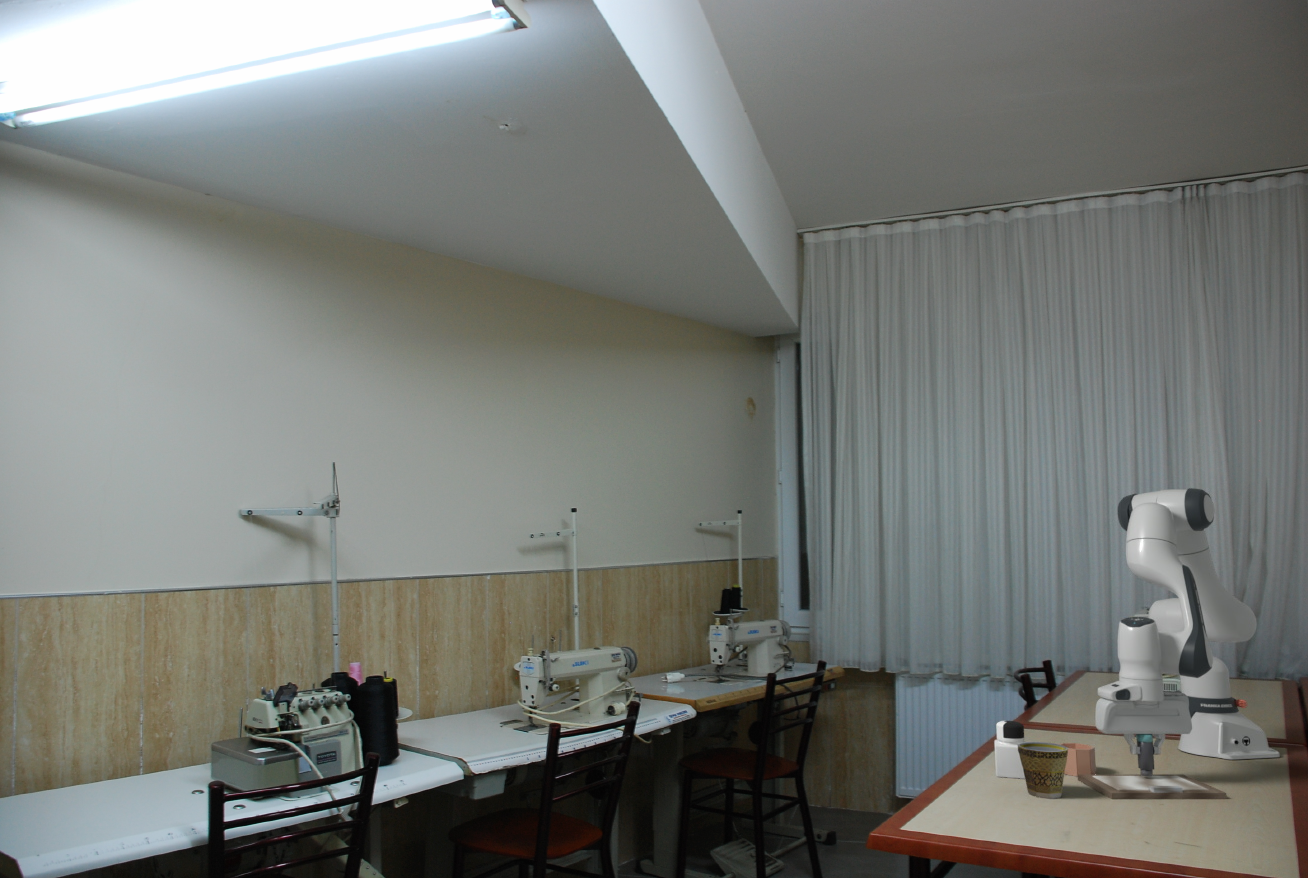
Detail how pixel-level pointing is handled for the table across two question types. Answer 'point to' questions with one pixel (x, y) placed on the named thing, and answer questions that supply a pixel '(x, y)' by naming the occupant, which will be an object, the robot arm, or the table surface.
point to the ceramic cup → (1043, 768)
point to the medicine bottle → (1009, 749)
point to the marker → (1145, 754)
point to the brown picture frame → (1151, 787)
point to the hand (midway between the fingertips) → (1145, 754)
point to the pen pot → (1080, 759)
